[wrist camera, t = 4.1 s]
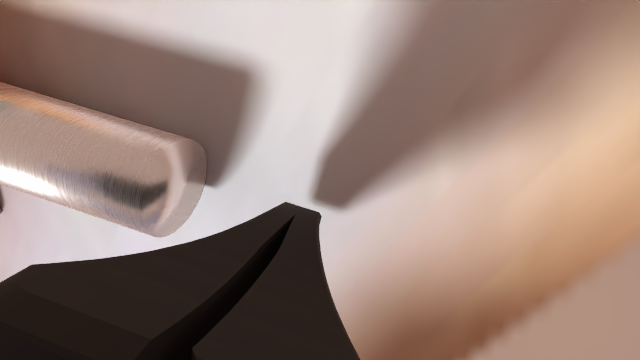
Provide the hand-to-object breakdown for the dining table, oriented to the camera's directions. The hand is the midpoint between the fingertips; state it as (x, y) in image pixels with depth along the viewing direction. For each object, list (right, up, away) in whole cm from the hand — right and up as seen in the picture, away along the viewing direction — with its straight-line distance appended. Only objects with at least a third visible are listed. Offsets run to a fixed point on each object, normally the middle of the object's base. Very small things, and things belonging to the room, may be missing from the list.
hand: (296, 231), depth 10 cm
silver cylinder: (-11, +4, +2) cm, 11 cm away
